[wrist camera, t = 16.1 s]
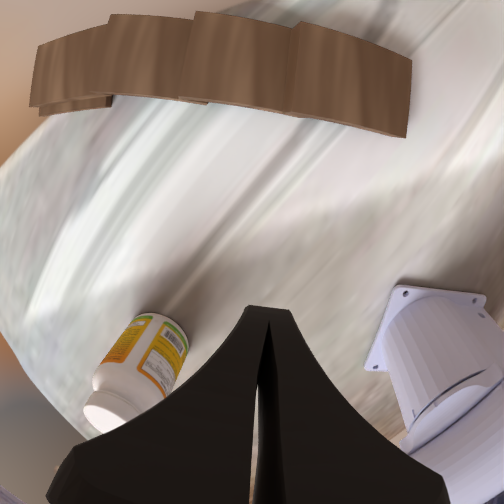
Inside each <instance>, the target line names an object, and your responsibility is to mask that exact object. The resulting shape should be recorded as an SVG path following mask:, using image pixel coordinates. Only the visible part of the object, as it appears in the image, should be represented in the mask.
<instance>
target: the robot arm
mask: <svg viewBox="0 0 504 504" xmlns="http://www.w3.org/2000/svg"><path fill="white" fill-rule="evenodd" d="M404 291H407V293H406V294H403V292H404ZM474 298H475V299H474ZM473 299H474V300H473ZM486 300H487V299H486V296H485V295H483V294H476V293H467V292H459V291H450V290H442V289H433V288H425V287H417V286H408V285H396V286H395V287H394V288H393V290H392V293H391V296H390V299H389V302H388V305H387V307H386V310H385V313H384V316H383V318H382V321H381V324H380V326H379V329H378V332H377V334H376V337H375V339H374V342H373V344H372V346H371V349H370V351H369V354H368V356H367V358H366V361H365V363H364V368H365V370H367V371H388V372H389V375H390V378H391V381H392V384H393V387H394V390H395V393H396V396H397V399H398V402H399V406H400V409H401V412H402V416H403V419H404V422H405V426H406V429H407V433H408V435H407V436H406V437H405V438H403V439H402V440H401V441H400V442H399V444H400V448H401V450H400V449H399V448H398V447H397V446H395V445H394V444H393V443H391V442H390V441H389V440H387V439H386V438H385V437H384V436H383V435H381V434H380V433H379V432H378V431H377V430H376V429H375V428H374V427H373V426H372V425H370V424H369V423H368V422H367V421H366V420H365V419H364V418H363V417H362V416H361V415H360V414H359V413H358V412H357V411H356V410H355V409H354V408H353V407H352V406H351V405H350V404H349V403H348V401H347V400H346V399H345V398H344V397H343V395H342V394H341V393H340V392H339V391H338V389H337V388H336V387H335V386H334V384H333V383H332V382H331V380H330V379H329V378H328V376H327V375H326V373H325V372H324V370H323V369H322V368H321V366H320V365H319V363H318V362H317V360H316V358H315V357H314V355H313V353H312V352H311V350H310V348H309V347H308V345H307V343H306V342H305V340H304V338H303V336H302V334H301V332H300V330H299V328H298V326H297V324H296V322H295V320H294V318H293V316H292V313H291V312H290V311H289V310H286V309H278V308H269V307H261V306H253V305H248V306H247V307H245V309H244V312H243V314H242V316H241V318H240V319H239V321H238V323H237V324H236V326H235V327H234V329H233V330H232V331H231V333H230V334H229V335H228V337H227V338H226V339H225V341H224V342H223V343H222V345H221V346H220V347H219V348H218V349H217V350H216V352H215V353H214V354H213V355H212V356H211V357H210V358H209V359H208V361H207V362H206V363H205V364H204V365H203V366H202V367H201V368H200V369H199V370H198V371H197V372H196V373H195V374H194V375H192V376H191V377H190V378H189V379H188V380H187V381H186V382H185V383H183V384H182V385H181V386H180V387H178V388H177V389H176V390H175V391H173V392H172V393H171V394H170V395H168V396H167V397H166V398H164V399H163V400H162V401H160V402H159V403H157V404H156V405H154V406H153V407H151V408H150V409H148V410H146V411H145V412H143V413H141V414H140V415H138V416H136V417H135V418H133V419H131V420H130V421H128V422H126V423H125V424H123V425H121V426H119V427H117V428H115V429H113V430H111V431H109V432H106V433H104V434H102V435H100V436H97V437H95V438H93V439H90V440H88V441H86V442H83V443H81V444H78V445H76V446H74V447H73V448H72V450H71V451H70V453H69V454H68V456H67V457H66V458H65V460H64V461H63V462H62V464H61V465H60V467H59V469H58V471H57V473H56V475H55V477H54V479H53V481H52V483H51V485H50V487H49V490H48V492H47V494H46V498H47V500H48V502H49V503H50V504H249V494H250V476H251V459H252V443H253V427H254V413H255V399H256V390H257V386H258V439H259V442H258V458H257V468H256V477H255V485H254V493H253V502H252V504H504V331H503V330H502V329H501V328H500V327H499V326H498V324H497V323H496V322H495V321H494V320H493V319H492V317H491V316H490V315H489V314H488V313H487V312H486V311H485V309H484V308H483V307H484V305H485V303H486ZM374 365H376V366H374ZM0 504H26V503H25V502H23V501H22V500H20V499H19V498H17V497H16V496H14V495H13V494H12V493H10V492H9V491H8V490H6V489H5V488H4V487H2V486H1V485H0Z"/></svg>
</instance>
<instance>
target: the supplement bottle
mask: <svg viewBox="0 0 504 504" xmlns="http://www.w3.org/2000/svg"><path fill="white" fill-rule="evenodd" d="M188 349H189V344H188V340H187V337H186V335H185V333H184V332H183V330H182V329H181V328H180V327H179V326H178V324H176V323H175V322H174V321H173V320H171V319H169V318H168V317H165V316H163V315H160V314H156V313H145V314H141V315H139V316H137V317H136V318H134V319H133V320H132V322H131V323H130V324H129V325H128V327H127V328H126V329H125V331H124V332H123V334H122V335H121V336H120V338H119V339H118V340H117V342H116V343H115V344H114V346H113V347H112V348H111V350H110V351H109V352H108V354H107V355H106V357H105V358H104V359H103V361H102V362H101V363H100V365H99V366H98V368H97V369H96V371H95V373H94V375H93V380H92V381H93V388H94V390H95V392H93V394H92V395H91V396H90V397H89V399H88V401H87V402H86V404H85V406H84V409H83V411H84V414H85V416H86V418H87V419H88V421H89V422H90V423H91V424H92V425H93V426H94V427H95V428H96V429H98V430H99V431H101V432H102V433H106V432H109V431H111V430H113V429H115V428H117V427H119V426H121V425H123V424H125V423H126V422H128V421H130V420H131V419H133V418H135V417H136V416H138V415H140V414H141V413H143V412H145V411H146V410H148V409H150V408H151V407H153V406H154V405H156V404H157V403H159V402H160V401H162V400H163V399H164V398H166V397H167V396H168V395H170V393H171V391H172V389H173V386H174V384H175V381H176V379H177V377H178V374H179V372H180V370H181V368H182V365H183V363H184V361H185V358H186V356H187V353H188Z"/></svg>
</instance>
